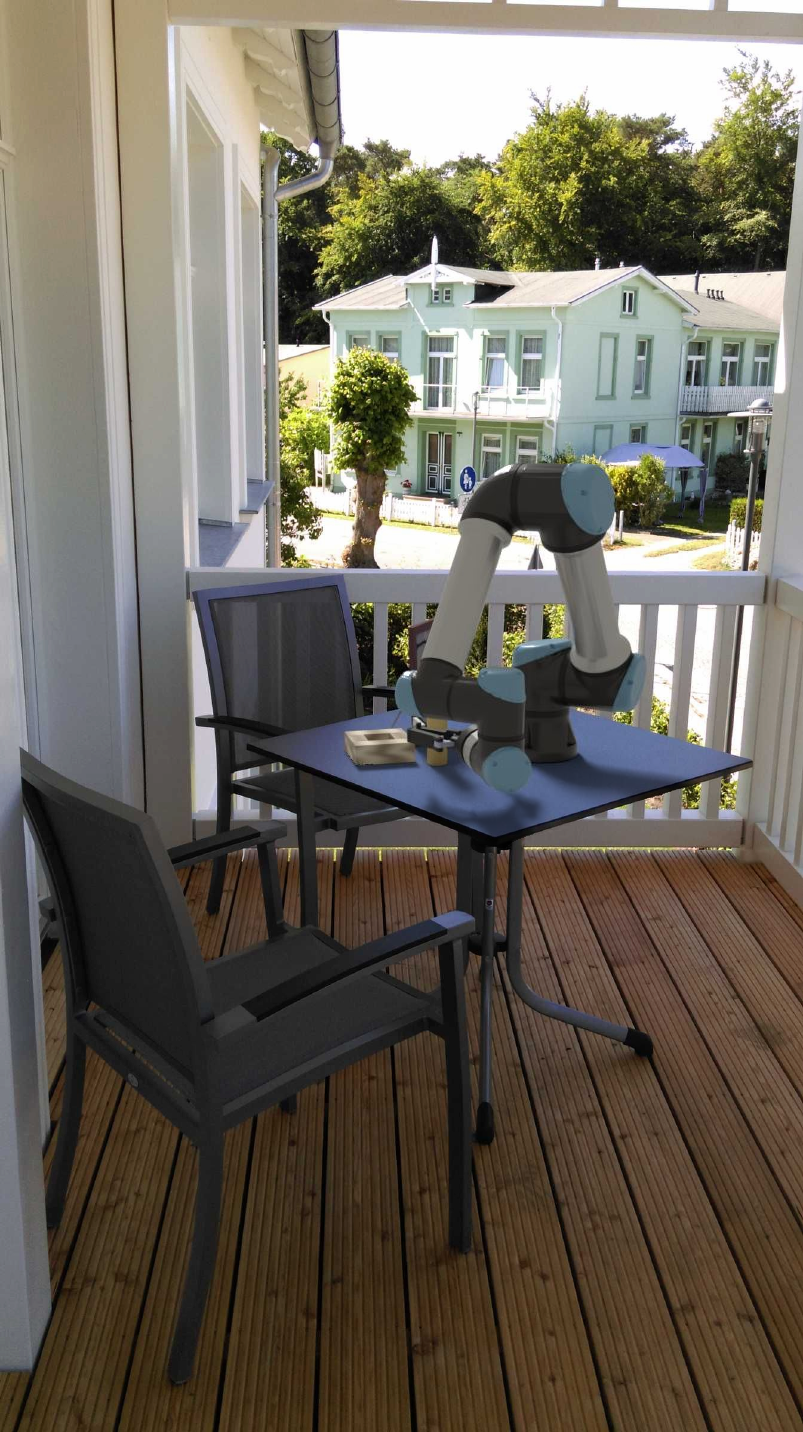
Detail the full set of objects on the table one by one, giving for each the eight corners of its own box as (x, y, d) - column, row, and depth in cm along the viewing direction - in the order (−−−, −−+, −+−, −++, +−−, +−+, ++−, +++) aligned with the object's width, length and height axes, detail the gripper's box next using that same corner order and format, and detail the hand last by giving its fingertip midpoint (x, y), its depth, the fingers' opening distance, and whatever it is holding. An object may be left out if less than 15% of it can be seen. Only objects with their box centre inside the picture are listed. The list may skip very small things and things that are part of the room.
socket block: (401, 746, 242) (401, 728, 241) (415, 761, 230) (415, 742, 229) (344, 750, 239) (344, 731, 238) (355, 765, 228) (355, 745, 227)
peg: (444, 759, 232) (444, 671, 227) (449, 765, 228) (449, 675, 223) (424, 760, 231) (424, 672, 226) (429, 766, 227) (429, 676, 222)
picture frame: (417, 746, 242) (417, 627, 236) (374, 742, 245) (372, 625, 240) (444, 729, 257) (444, 616, 251) (403, 725, 260) (402, 614, 255)
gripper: (411, 775, 195) (385, 745, 216) (551, 766, 201) (513, 738, 221) (411, 732, 194) (384, 706, 214) (553, 724, 199) (514, 699, 219)
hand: (450, 722), depth 218 cm, fingers open, 13 cm apart
